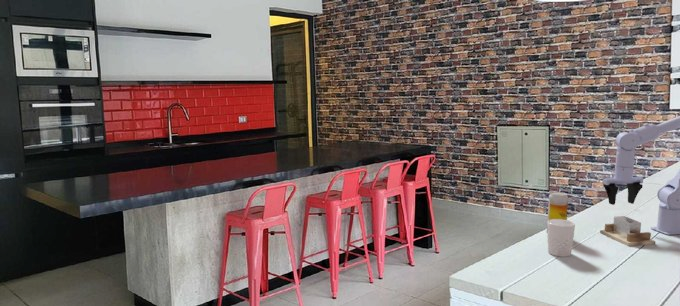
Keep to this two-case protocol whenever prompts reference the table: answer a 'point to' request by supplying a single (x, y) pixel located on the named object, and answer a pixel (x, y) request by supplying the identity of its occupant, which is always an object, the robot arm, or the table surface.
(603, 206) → the table surface
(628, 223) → the aluminium block
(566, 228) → the white cup
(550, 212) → the beer can
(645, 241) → the birch cradle
